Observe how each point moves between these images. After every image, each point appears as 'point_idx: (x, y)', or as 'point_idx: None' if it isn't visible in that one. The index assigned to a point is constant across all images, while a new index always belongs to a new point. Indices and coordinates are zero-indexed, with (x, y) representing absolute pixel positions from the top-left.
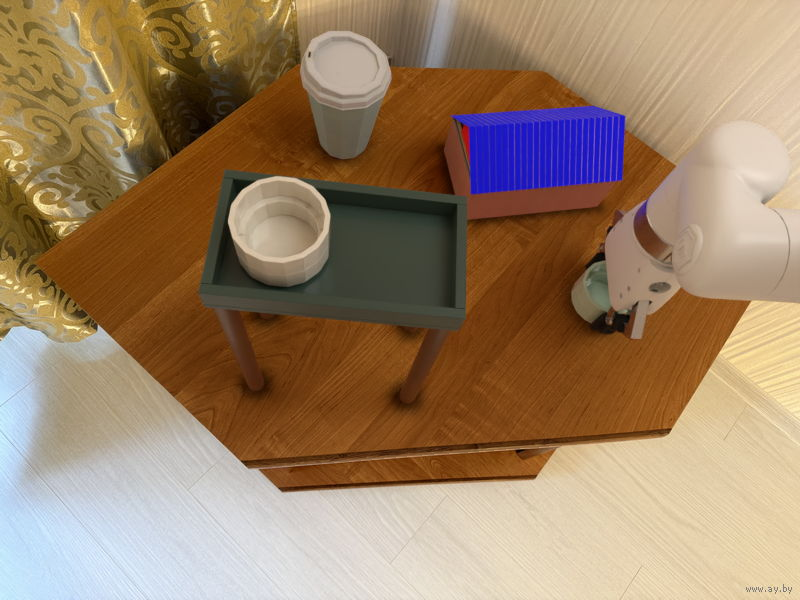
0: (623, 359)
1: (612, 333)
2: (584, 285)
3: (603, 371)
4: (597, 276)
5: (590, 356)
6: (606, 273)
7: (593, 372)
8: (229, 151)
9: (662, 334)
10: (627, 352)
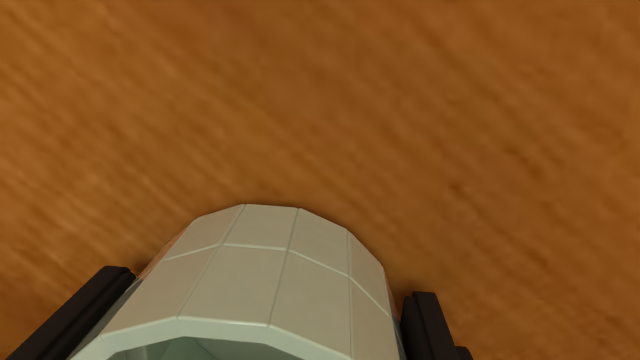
0: (551, 238)
1: (469, 354)
2: None
3: (584, 322)
4: (163, 350)
5: (511, 354)
6: (138, 350)
7: (579, 355)
8: None
9: (446, 3)
10: (520, 216)
